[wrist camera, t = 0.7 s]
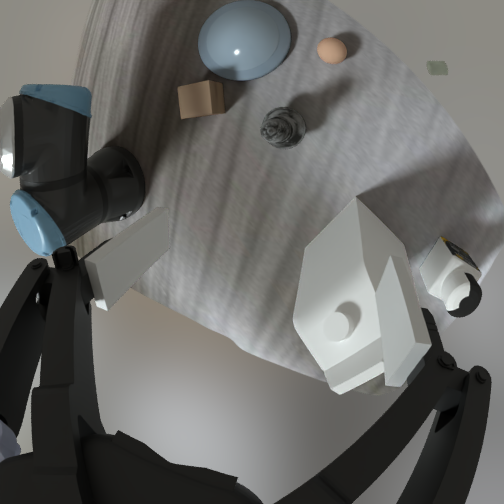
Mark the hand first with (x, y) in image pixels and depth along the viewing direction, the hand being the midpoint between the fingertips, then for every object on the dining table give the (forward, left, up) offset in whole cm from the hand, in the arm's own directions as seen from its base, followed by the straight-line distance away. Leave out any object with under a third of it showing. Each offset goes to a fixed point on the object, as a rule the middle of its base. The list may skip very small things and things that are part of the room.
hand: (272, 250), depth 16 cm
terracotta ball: (-2, +17, -26) cm, 31 cm away
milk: (+11, -10, -28) cm, 32 cm away
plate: (-15, +16, -28) cm, 35 cm away
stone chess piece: (-5, +4, -28) cm, 29 cm away
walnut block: (-18, +5, -28) cm, 34 cm away
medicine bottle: (+27, -6, -28) cm, 39 cm away
